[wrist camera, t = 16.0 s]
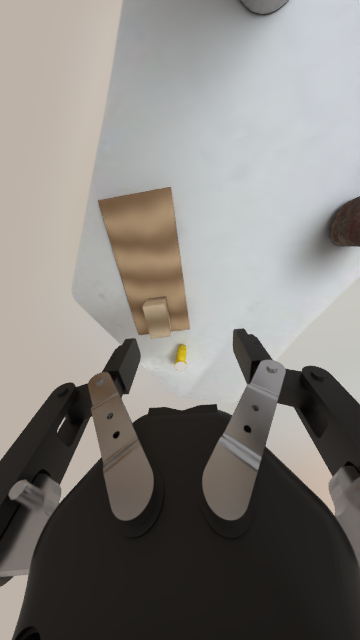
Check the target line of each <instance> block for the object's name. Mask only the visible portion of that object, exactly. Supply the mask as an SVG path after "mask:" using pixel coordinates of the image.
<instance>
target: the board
mask: <svg viewBox="0 0 360 640" xmlns="http://www.w3.org/2000/svg"><path fill="white" fill-rule="evenodd" d="M98 202H99V206H100V209H101V212H102V216H103V219H104V222H105V225H106V229H107V232H108V235H109V239H110V242H111V245H112V248H113V252H114V255H115V258H116V262H117V265H118V268H119V271H120V275H121V278H122V281H123V285H124V288H125V291H126V294H127V298H128V301H129V304H130V308H131V311H132V314H133V317H134V321H135V324H136V327H137V331H138V334H139V335H144V334H149V330H148V326H147V322H146V319H145V315H144V311H143V305H144V303H145V302H146V300H147V299H149V298H157V297H165V296H166V299H167V304H168V309H169V315H170V320H171V331H179V330H188V329H190V328H189V320H188V312H187V305H186V297H185V290H184V282H183V274H182V267H181V259H180V252H179V244H178V237H177V229H176V222H175V214H174V207H173V199H172V191H171V187H167V188H162V189H157V190H151V191H146V192H141V193H135V194H130V195H125V196H119V197H114V198H109V199H103V200H98Z"/></svg>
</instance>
